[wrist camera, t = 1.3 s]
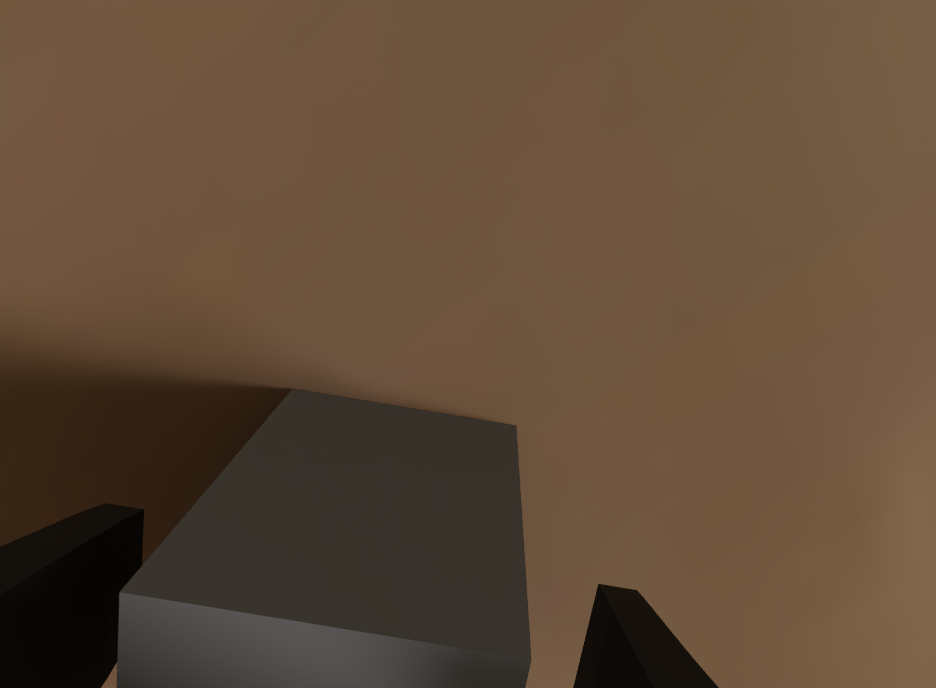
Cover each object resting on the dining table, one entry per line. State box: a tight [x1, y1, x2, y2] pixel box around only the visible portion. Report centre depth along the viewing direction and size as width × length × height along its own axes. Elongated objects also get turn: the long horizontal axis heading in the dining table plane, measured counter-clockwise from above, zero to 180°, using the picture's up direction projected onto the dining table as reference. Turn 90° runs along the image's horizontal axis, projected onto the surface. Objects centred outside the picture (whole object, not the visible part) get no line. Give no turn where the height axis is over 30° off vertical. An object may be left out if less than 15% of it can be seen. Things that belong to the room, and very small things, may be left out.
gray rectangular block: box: [117, 389, 531, 688], centre depth 10 cm, size 5×4×6 cm
